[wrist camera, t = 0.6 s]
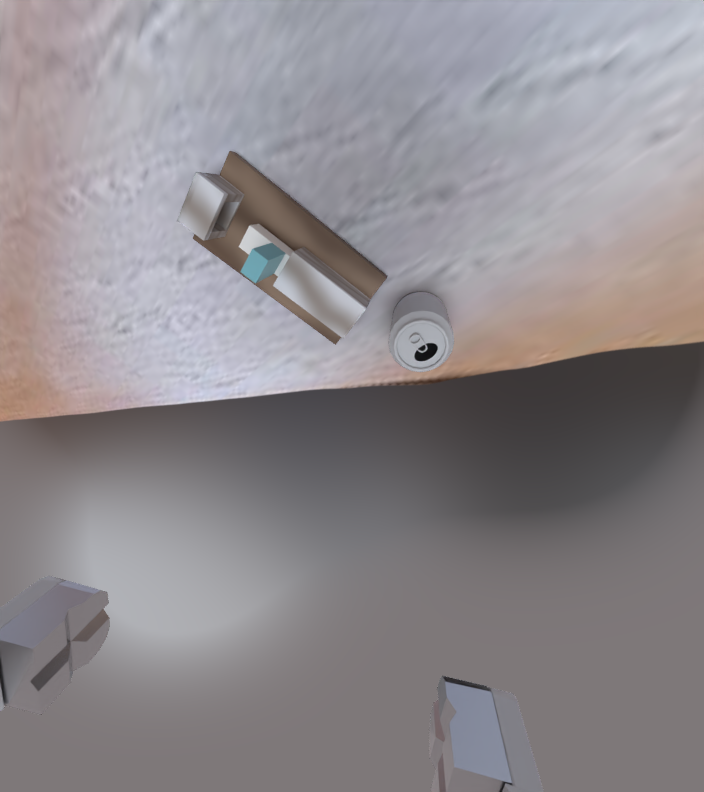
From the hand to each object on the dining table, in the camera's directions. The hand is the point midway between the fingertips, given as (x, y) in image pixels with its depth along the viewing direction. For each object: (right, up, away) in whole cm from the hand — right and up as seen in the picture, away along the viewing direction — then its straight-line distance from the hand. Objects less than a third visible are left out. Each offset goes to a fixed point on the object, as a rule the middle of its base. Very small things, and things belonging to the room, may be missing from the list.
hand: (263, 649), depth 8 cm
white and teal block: (-4, +22, +38) cm, 45 cm away
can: (+12, +17, +42) cm, 47 cm away
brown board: (-6, +25, +40) cm, 48 cm away
